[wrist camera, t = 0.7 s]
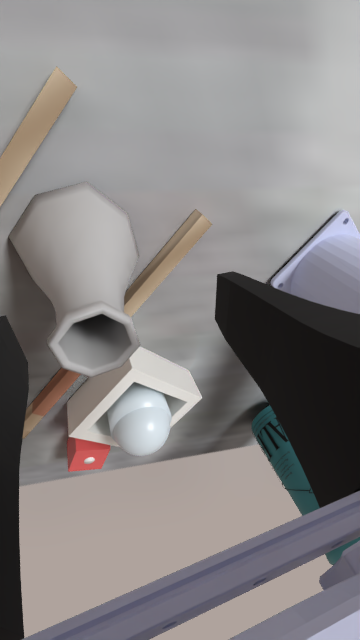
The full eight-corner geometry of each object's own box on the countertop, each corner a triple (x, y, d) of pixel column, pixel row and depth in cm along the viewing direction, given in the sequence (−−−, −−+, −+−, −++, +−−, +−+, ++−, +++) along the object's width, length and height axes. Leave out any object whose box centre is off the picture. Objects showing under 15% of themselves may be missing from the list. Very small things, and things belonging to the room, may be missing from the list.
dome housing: (188, 370, 29) (202, 397, 26) (136, 421, 31) (144, 452, 28) (123, 338, 24) (132, 368, 21) (66, 401, 26) (68, 436, 23)
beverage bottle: (282, 416, 41) (418, 605, 26) (239, 429, 39) (358, 641, 24) (294, 384, 37) (462, 584, 22) (246, 397, 35) (394, 625, 20)
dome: (174, 391, 27) (192, 436, 23) (139, 425, 28) (151, 473, 24) (131, 373, 24) (145, 422, 20) (94, 413, 25) (101, 466, 21)
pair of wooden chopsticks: (205, 218, 20) (212, 224, 19) (25, 426, 26) (24, 438, 25) (56, 68, 14) (56, 66, 13) (-143, 391, 19) (-152, 406, 18)
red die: (105, 421, 29) (110, 449, 27) (97, 440, 30) (101, 469, 28) (74, 421, 28) (76, 451, 25) (66, 442, 29) (68, 472, 27)
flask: (89, 155, 16) (120, 206, 9) (156, 256, 21) (214, 346, 13) (-18, 231, 16) (-78, 344, 9) (72, 312, 21) (82, 432, 14)
